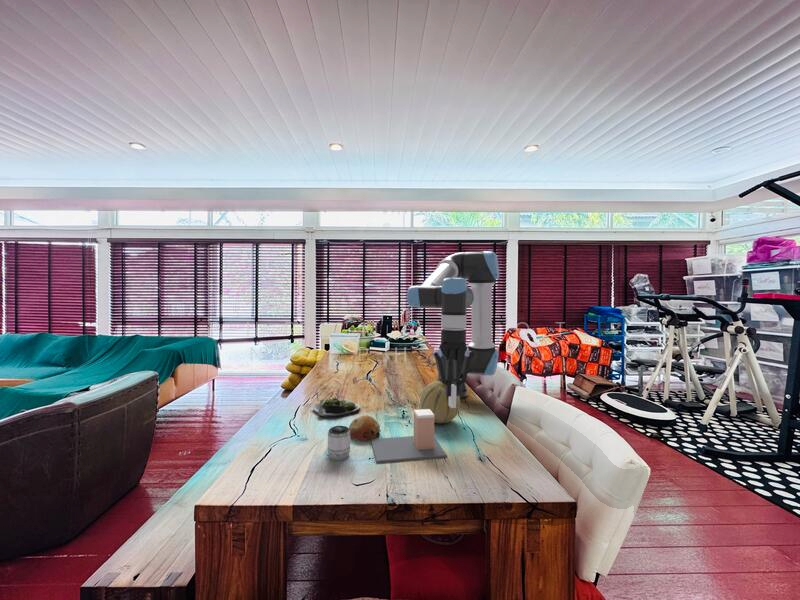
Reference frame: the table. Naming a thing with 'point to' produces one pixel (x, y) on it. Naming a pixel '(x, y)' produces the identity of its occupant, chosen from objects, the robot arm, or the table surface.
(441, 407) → the cantaloupe
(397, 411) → the table surface
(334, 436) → the camera lens
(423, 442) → the block
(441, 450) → the mat
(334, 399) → the salad plate
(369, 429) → the bread roll
